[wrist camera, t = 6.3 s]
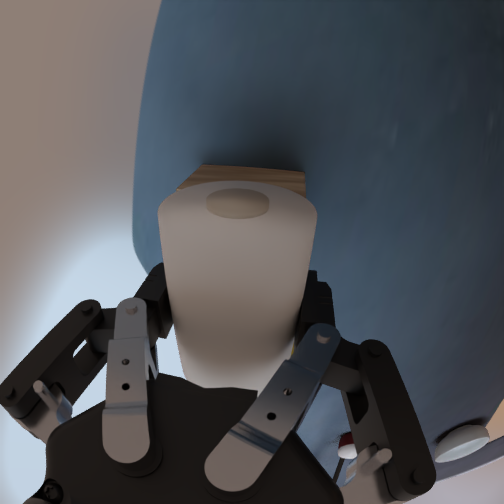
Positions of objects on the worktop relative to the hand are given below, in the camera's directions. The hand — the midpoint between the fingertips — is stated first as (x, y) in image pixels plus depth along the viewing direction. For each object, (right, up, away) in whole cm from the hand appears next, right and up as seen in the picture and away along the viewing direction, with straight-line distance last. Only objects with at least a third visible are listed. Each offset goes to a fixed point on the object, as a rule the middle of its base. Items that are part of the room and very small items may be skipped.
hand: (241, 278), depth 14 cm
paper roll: (0, -1, -2) cm, 2 cm away
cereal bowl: (+58, -49, +40) cm, 86 cm away
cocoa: (+23, -41, +42) cm, 63 cm away
